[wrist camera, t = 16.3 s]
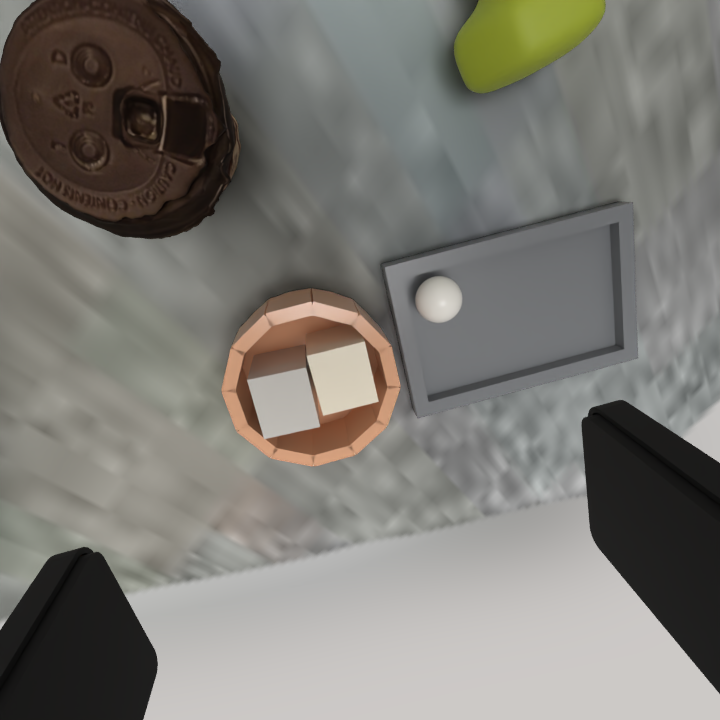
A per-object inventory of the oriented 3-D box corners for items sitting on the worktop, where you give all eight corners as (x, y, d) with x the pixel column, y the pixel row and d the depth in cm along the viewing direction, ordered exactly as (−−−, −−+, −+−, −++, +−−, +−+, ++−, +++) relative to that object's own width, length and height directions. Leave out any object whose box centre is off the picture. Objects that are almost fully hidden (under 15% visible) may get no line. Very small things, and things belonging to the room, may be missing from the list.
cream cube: (356, 321, 33) (364, 341, 28) (368, 374, 34) (378, 401, 30) (305, 334, 32) (306, 355, 28) (320, 387, 34) (323, 415, 30)
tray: (618, 201, 32) (632, 202, 31) (624, 351, 36) (638, 358, 35) (380, 263, 32) (384, 267, 31) (413, 409, 36) (417, 418, 34)
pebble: (450, 267, 32) (464, 275, 29) (457, 310, 33) (472, 321, 30) (406, 278, 32) (417, 287, 29) (415, 321, 33) (426, 333, 30)
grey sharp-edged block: (305, 344, 33) (305, 367, 28) (317, 396, 34) (320, 426, 30) (253, 355, 32) (247, 380, 28) (268, 407, 34) (264, 439, 30)
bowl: (366, 271, 32) (377, 284, 28) (399, 409, 36) (412, 439, 31) (211, 311, 32) (198, 331, 27) (260, 447, 35) (255, 482, 31)
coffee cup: (292, 159, 29) (288, 139, 17) (193, 250, 30) (123, 293, 18) (183, 25, 26) (84, -114, 14) (78, 131, 27) (-98, 87, 15)
